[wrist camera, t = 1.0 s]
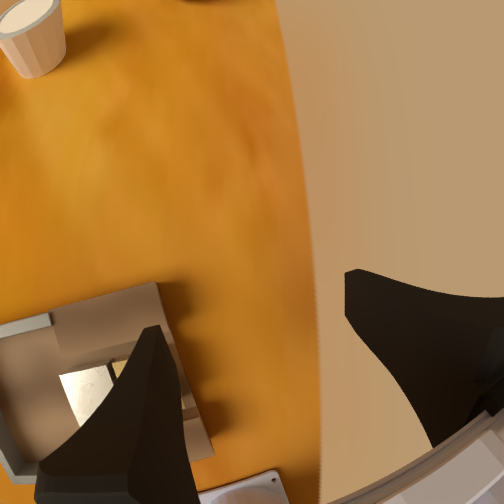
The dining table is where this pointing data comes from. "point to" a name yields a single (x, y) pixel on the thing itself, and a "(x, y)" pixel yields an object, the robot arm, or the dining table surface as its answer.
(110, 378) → the silvery white square block
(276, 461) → the dining table surface
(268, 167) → the dining table surface
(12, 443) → the tray
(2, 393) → the slot board
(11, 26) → the white cup
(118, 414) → the robot arm
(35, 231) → the dining table surface
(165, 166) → the dining table surface
